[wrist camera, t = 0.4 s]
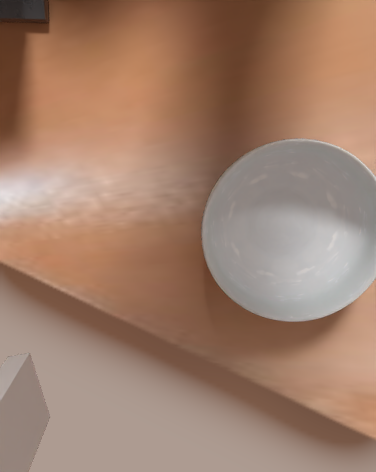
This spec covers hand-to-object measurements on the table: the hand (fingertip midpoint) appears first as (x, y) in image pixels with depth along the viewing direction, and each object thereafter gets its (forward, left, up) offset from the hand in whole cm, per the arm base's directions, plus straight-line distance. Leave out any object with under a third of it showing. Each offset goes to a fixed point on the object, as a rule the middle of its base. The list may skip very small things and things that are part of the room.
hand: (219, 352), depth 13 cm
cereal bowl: (0, +8, -27) cm, 28 cm away
